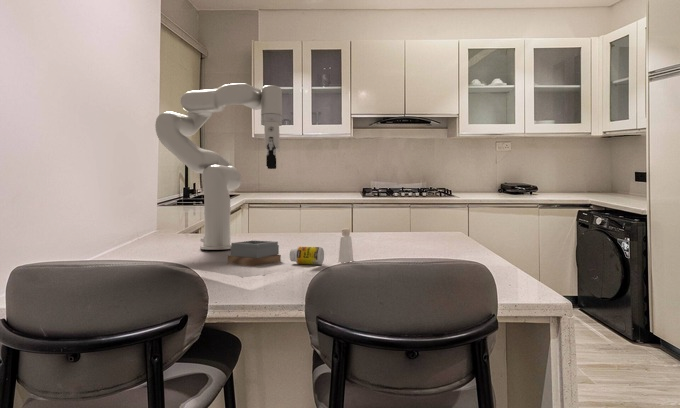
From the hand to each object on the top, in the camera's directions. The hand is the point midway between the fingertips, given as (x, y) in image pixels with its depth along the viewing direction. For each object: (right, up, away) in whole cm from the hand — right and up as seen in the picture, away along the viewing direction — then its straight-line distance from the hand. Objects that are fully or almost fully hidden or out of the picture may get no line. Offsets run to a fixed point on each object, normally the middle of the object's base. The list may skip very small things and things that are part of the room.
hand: (271, 167), depth 168 cm
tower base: (-3, -33, -17) cm, 37 cm away
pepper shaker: (+27, -32, -16) cm, 45 cm away
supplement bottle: (+20, -30, -23) cm, 42 cm away
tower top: (-3, -30, -17) cm, 34 cm away
